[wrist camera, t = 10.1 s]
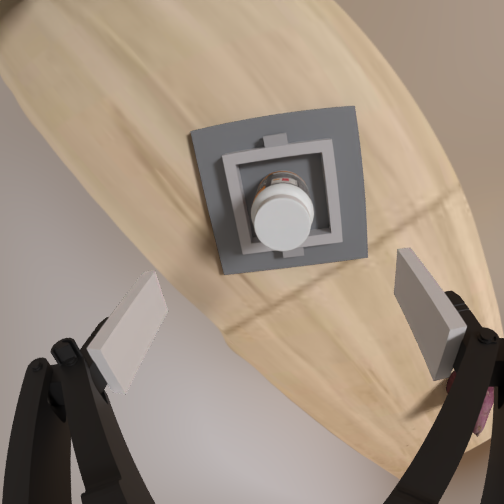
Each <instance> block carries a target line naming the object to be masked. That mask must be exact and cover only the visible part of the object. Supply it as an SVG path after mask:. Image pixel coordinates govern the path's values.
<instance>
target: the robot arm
mask: <svg viewBox="0 0 504 504" xmlns="http://www.w3.org/2000/svg"><path fill="white" fill-rule="evenodd" d="M394 295H395V297H396V299H397V301H398V303H399V305H400V307H401V309H402V311H403V313H404V315H405V317H406V319H407V321H408V324H409V326H410V328H411V330H412V332H413V334H414V337H415V339H416V341H417V343H418V345H419V348H420V350H421V352H422V355H423V357H424V359H425V362H426V364H427V366H428V369H429V371H430V374H431V376H432V378H433V381H436V380H440V379H444V378H448V377H450V374H451V371H452V369H453V368H454V370H455V372H456V377H455V379H454V382H453V384H452V386H451V388H450V391H449V393H448V395H447V397H446V400H445V402H444V404H443V406H442V408H441V410H440V412H439V414H438V416H437V418H436V420H435V422H434V424H433V426H432V428H431V430H430V431H429V433H428V435H427V437H426V439H425V441H424V442H423V444H422V446H421V448H420V449H419V451H418V453H417V454H416V456H415V458H414V459H413V461H412V462H411V464H410V466H409V467H408V469H407V470H406V472H405V473H404V475H403V476H402V478H401V479H400V481H399V483H398V484H397V485H396V487H395V488H394V490H393V491H392V492H391V494H390V495H389V497H388V498H387V499H386V501H385V502H384V503H383V504H438V503H439V501H440V499H441V497H442V495H443V494H444V492H445V490H446V488H447V486H448V484H449V482H450V480H451V478H452V477H453V475H454V473H455V471H456V469H457V467H458V465H459V462H460V460H461V458H462V456H463V454H464V452H465V449H466V447H467V445H468V442H469V440H470V438H471V435H472V433H473V430H474V428H475V425H476V422H477V420H478V417H479V414H480V411H481V408H482V405H483V402H484V399H485V396H486V393H487V390H488V387H494V408H493V425H492V437H491V446H490V455H489V462H488V468H487V474H486V480H485V485H484V490H483V495H482V499H481V503H480V504H504V338H499V336H498V335H497V333H496V332H494V331H493V330H491V329H489V328H484V327H482V326H481V325H480V323H479V322H478V321H477V319H476V318H475V316H474V315H473V313H472V312H471V311H470V310H469V308H468V307H467V305H466V304H465V302H464V301H463V300H462V298H461V297H460V296H459V295H457V294H456V293H454V292H453V291H446V292H444V291H443V290H442V289H441V287H440V286H439V284H438V283H437V282H436V280H435V279H434V278H433V276H432V275H431V274H430V272H429V271H428V270H427V268H426V267H425V266H424V264H423V263H422V262H421V260H420V259H419V258H418V257H417V255H416V254H415V253H414V252H413V250H412V249H411V248H402V249H397V262H396V275H395V286H394ZM167 313H168V308H167V305H166V302H165V299H164V296H163V293H162V290H161V287H160V284H159V281H158V278H157V275H156V272H155V271H146V272H143V273H142V274H141V276H140V277H139V278H138V280H137V281H136V282H135V284H134V285H133V286H132V287H131V289H130V290H129V291H128V293H127V294H126V295H125V297H124V298H123V299H122V300H121V302H120V303H119V304H118V306H117V307H116V309H115V310H114V311H113V312H112V314H111V315H110V317H107V318H105V319H104V320H103V321H102V322H100V323H99V324H98V326H97V327H96V328H95V331H93V333H92V334H91V336H90V337H89V338H88V339H87V341H86V342H85V344H84V345H83V346H82V348H81V349H79V348H78V346H77V344H76V342H75V340H74V339H72V338H65V339H62V340H60V341H58V342H57V343H56V344H54V345H53V347H52V349H51V354H52V355H53V357H54V358H55V360H56V362H57V363H58V364H56V365H50V364H49V363H48V361H47V360H46V358H38V359H35V360H34V361H32V362H31V363H30V364H29V365H28V368H27V370H26V373H25V377H24V380H23V384H22V388H21V391H20V395H19V399H18V403H17V407H16V411H15V416H14V421H13V425H12V430H11V436H10V442H9V448H8V453H7V460H6V468H5V476H4V486H3V499H2V504H72V501H71V475H70V474H71V471H70V457H71V456H70V455H71V439H72V442H73V447H74V451H75V455H76V459H77V462H78V466H79V469H80V473H81V476H82V480H83V483H84V486H85V490H86V491H85V493H82V494H81V500H82V504H155V502H154V500H153V499H152V497H151V495H150V493H149V491H148V489H147V488H146V485H145V483H144V482H143V479H142V477H141V475H140V473H139V471H138V469H137V467H136V465H135V463H134V461H133V458H132V456H131V454H130V452H129V449H128V447H127V445H126V442H125V440H124V438H123V435H122V433H121V430H120V428H119V425H118V423H117V420H116V417H115V415H114V412H113V409H112V407H111V404H110V401H109V398H108V395H107V394H106V392H105V390H104V389H105V387H106V385H107V384H108V386H109V387H110V389H111V391H112V392H113V393H120V394H126V393H127V391H128V389H129V387H130V385H131V383H132V381H133V379H134V377H135V375H136V373H137V371H138V369H139V367H140V365H141V363H142V361H143V359H144V357H145V355H146V353H147V351H148V349H149V347H150V345H151V343H152V342H153V340H154V338H155V336H156V334H157V332H158V330H159V328H160V326H161V324H162V322H163V320H164V318H165V317H166V315H167Z"/></svg>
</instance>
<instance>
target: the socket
mask: <svg viewBox="0 0 504 504" xmlns="http://www.w3.org/2000/svg"><path fill="white" fill-rule="evenodd" d="M191 136H192V140H193V145H194V150H195V154H196V159H197V163H198V168H199V172H200V176H201V181H202V185H203V190H204V194H205V198H206V202H207V207H208V211H209V215H210V219H211V223H212V228H213V232H214V236H215V240H216V244H217V248H218V252H219V256H220V260H221V264H222V268H223V272H224V275H228V274H237V273H246V272H255V271H263V270H272V269H280V268H289V267H297V266H305V265H314V264H322V263H330V262H337V261H345V260H353V259H361V258H368V246H367V221H366V204H365V190H364V178H363V167H362V157H361V148H360V140H359V132H358V125H357V118H356V111H355V106H345V107H333V108H323V109H314V110H305V111H297V112H290V113H283V114H276V115H269V116H263V117H257V118H252V119H246V120H241V121H235V122H230V123H225V124H220V125H216V126H211V127H207V128H202V129H198V130H194V131H191ZM281 170H284V171H290V172H293V173H295V174H297V175H298V176H299V177H301V178H302V179H303V181H304V182H305V184H306V186H307V188H308V190H309V194H310V197H311V200H312V203H313V207H314V218H313V222H312V224H311V229H310V232H309V235H308V237H307V239H306V240H305V241H304V242H303V243H302V244H301V245H300V246H299V247H297V248H295V249H292V250H289V251H276V250H273V249H270V248H268V247H267V246H265V245H264V244H263V243H262V242H261V241H260V240H259V239H258V237H257V235H256V233H255V229H254V225H253V222H252V219H251V208H252V204H253V201H254V198H255V195H256V192H257V189H258V187H259V184H260V183H261V181H262V180H263V179H264V178H265V177H266V176H267V175H269V174H270V173H273V172H275V171H281Z"/></svg>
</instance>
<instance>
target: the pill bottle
mask: <svg viewBox="0 0 504 504" xmlns="http://www.w3.org/2000/svg"><path fill="white" fill-rule="evenodd" d="M313 218H314V207H313V203H312V200H311V197H310V194H309V190H308V188H307V186H306V184H305V182H304V181H303V179H302V178H301V177H299V176H298V175H297V174H295V173H293V172H290V171H284V170H281V171H275V172H273V173H270V174H269V175H267V176H266V177H265V178H264V179H263V180H262V181H261V183H260V184H259V187H258V189H257V192H256V195H255V198H254V201H253V204H252V208H251V219H252V222H253V225H254V229H255V233H256V235H257V237H258V239H259V240H260V241H261V242H262V243H263V244H264V245H265V246H267V247H268V248H270V249H273V250H276V251H289V250H292V249H295V248H297V247H299V246H300V245H301V244H302V243H303V242H304V241H305V240H306V239H307V237H308V235H309V232H310V229H311V224H312V222H313Z"/></svg>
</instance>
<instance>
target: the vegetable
mask: <svg viewBox="0 0 504 504" xmlns="http://www.w3.org/2000/svg"><path fill="white" fill-rule="evenodd" d="M455 377H456V372H455V371H454V372H453V373H452V374H451V375H450V377H449V379H448V382H447V387H446V390H447V393H449V391H450V388H451V386H452V384H453V382H454V379H455ZM493 402H494V387H488V390H487V393H486V396H485V399H484V402H483V405H482V408H481V411H480V414H479V417H478V420H477V422H476V425H475V428H474V430H473V433H474V434H476V436H477V437H478V436H479V434H480V433H481V432H482V430H483V429H484V426H485V424H486V421H487V418H488V415H489V413H490V410H491V408H492V405H493Z"/></svg>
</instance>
